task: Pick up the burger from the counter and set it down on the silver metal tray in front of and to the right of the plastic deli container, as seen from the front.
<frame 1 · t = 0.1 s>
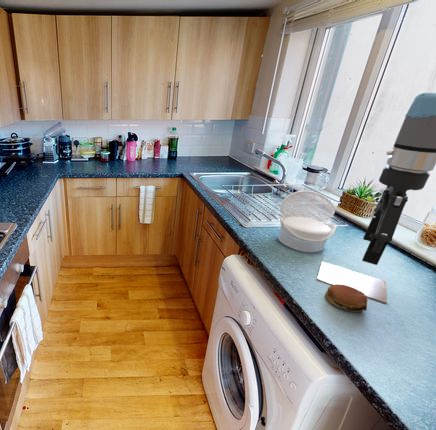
hand: (369, 250, 72), 22 cm above the worktop, tool pointing down, fingers open, 13 cm apart
burger: (343, 303, 86), on the worktop
plastic deli container: (299, 242, 120), on the worktop
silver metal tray: (350, 280, 96), on the worktop
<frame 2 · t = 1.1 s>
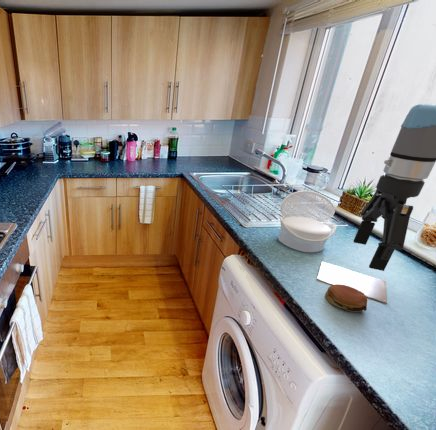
hand: (367, 255, 74), 20 cm above the worktop, tool pointing down, fingers open, 13 cm apart
nothing on the worktop moved.
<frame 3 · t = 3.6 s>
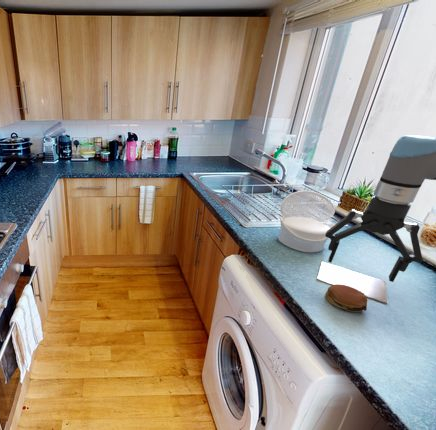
hand: (359, 269, 81), 12 cm above the worktop, tool pointing down, fingers open, 13 cm apart
nothing on the worktop moved.
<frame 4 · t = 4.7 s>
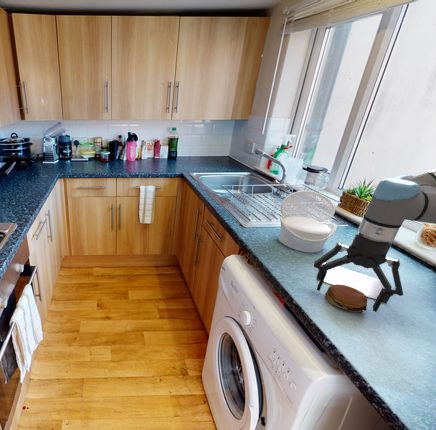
hand: (345, 298, 85), 2 cm above the worktop, tool pointing down, fingers open, 13 cm apart
nothing on the worktop moved.
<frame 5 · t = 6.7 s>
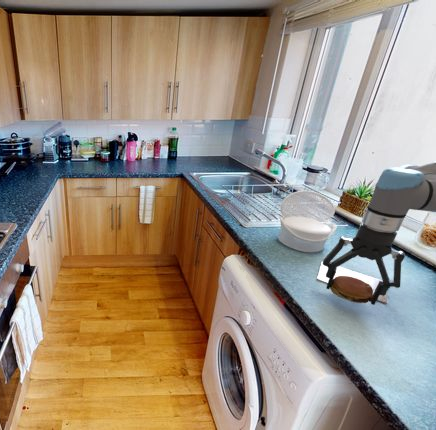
hand: (349, 294, 85), 4 cm above the worktop, tool pointing down, fingers closed on burger, 10 cm apart
burger: (348, 295, 85), point 3 cm above the worktop, touching gripper
everything else where it was.
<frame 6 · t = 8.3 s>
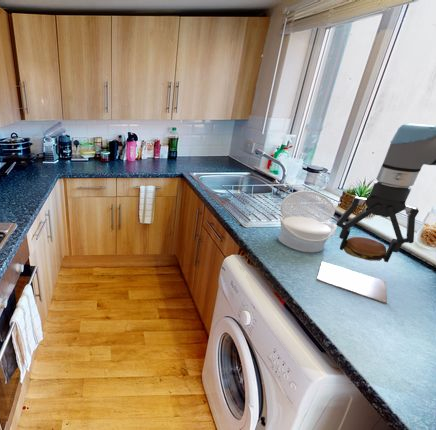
hand: (362, 253, 87), 13 cm above the worktop, tool pointing down, fingers closed on burger, 10 cm apart
burger: (362, 254, 87), point 13 cm above the worktop, touching gripper
everything else where it was.
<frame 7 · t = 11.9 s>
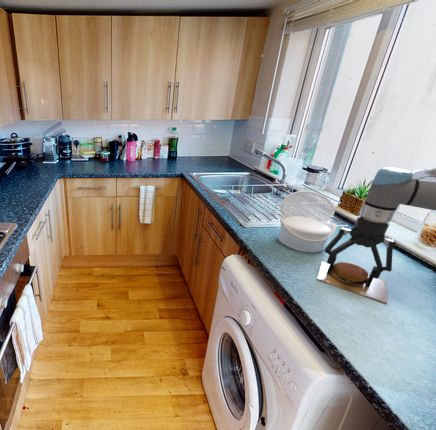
hand: (347, 278, 96), 1 cm above the worktop, tool pointing down, fingers closed on burger, 10 cm apart
burger: (347, 279, 97), resting on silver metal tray, touching gripper
everything else where it was.
when the fingers open (1 cm above the worktop, at t = 12.1 s): burger stays where it is, resting on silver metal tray.
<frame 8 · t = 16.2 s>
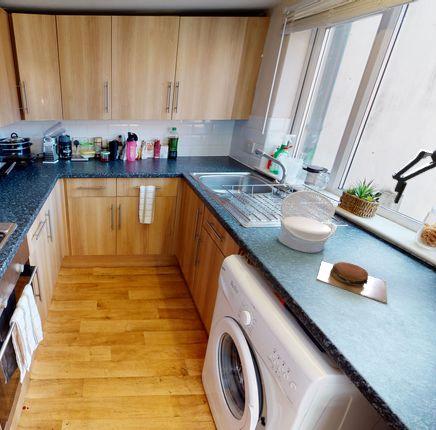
hand: (425, 208, 86), 27 cm above the worktop, tool pointing down, fingers open, 13 cm apart
burger: (347, 279, 97), resting on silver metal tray
everything else where it was.
at the end: burger inside the target area on the worktop beside the plastic deli container (0.1 cm from its centre), resting on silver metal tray; the gripper is holding nothing; plastic deli container moved 0.2 cm from its start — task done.
